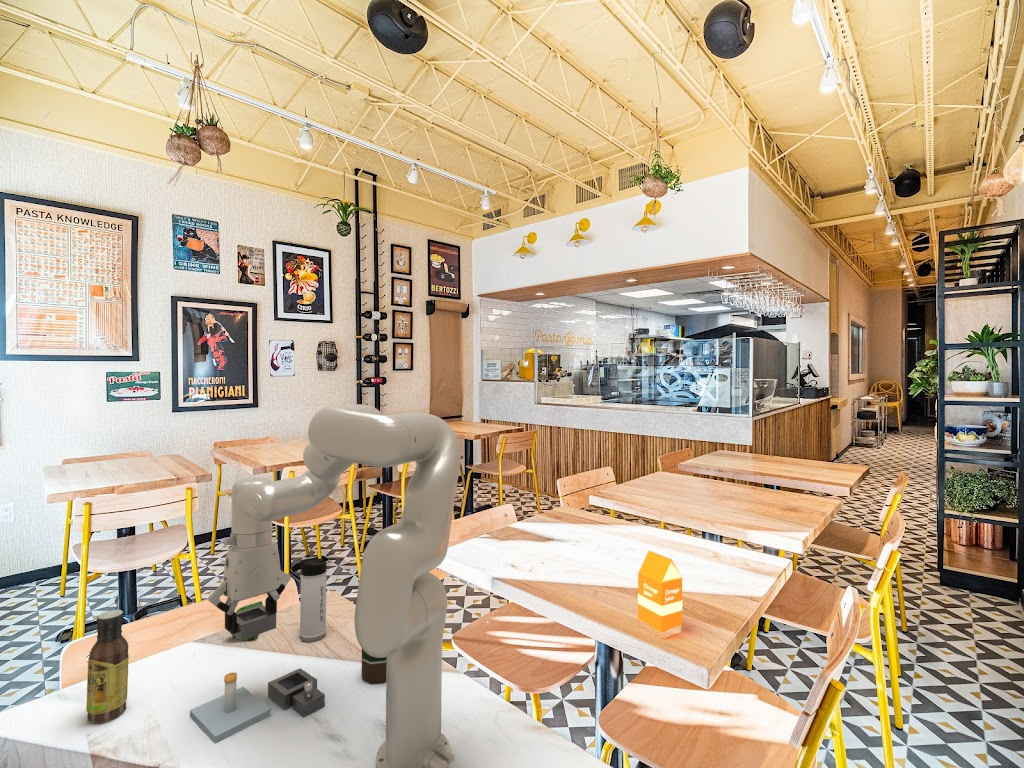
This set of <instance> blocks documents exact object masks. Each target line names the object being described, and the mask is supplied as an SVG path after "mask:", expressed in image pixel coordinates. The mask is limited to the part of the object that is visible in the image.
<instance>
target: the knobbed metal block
mask: <svg viewBox="0 0 1024 768" xmlns="http://www.w3.org/2000/svg"><path fill="white" fill-rule="evenodd" d="M325 696H326V694H325V693H324V692H322V691H321V690H319V689H318V687H317V688H315V687H314V686H313V682H312V681H307V682H306V683H305V684H304V691H302V692H300V693H298V694H296V695H294V696H292V707H291V709H292V710H294V711H295V712H296V713H297V714H299V715H300V716H301V717H302V718H305V717H307V716H310V715H311V714H313V713H315V712H316V711H319V710H320V709H322V708H324V707H325V706H326V703H325V702H326V699H325V698H326V697H325Z"/></svg>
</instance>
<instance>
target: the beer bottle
mask: <svg viewBox="0 0 1024 768" xmlns="http://www.w3.org/2000/svg"><path fill="white" fill-rule="evenodd" d="M386 665H387V657H384V658H376V657H373V656H370V655H368V654H367V653H366V652H365V651H364V650H363V649H362V648H361V679H362V681H364V682H366V683H368V684H370V685H374V684H383V683H386Z"/></svg>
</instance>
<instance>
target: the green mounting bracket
mask: <svg viewBox="0 0 1024 768" xmlns="http://www.w3.org/2000/svg"><path fill="white" fill-rule="evenodd" d="M261 604H262V605H263V601H262V600H260V601H258V602H254V603H250V604H247V605H244V606H242V607H240V608H238V609H237V610H236V611H235V613H236V612H239V611H242V610H245V609H249V608H252V607H255V606H258V605H261ZM263 606H264V605H263ZM231 636H232V639H237V638H236V637H235V636H234V635H232V634H231ZM259 636H260V634H258V635H256V636H253V637H250V638H247V639H246V641H251V640H254V639H256V638H258V637H259Z"/></svg>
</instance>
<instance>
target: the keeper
mask: <svg viewBox="0 0 1024 768" xmlns="http://www.w3.org/2000/svg"><path fill="white" fill-rule="evenodd" d="M237 679H238V673H237V672H229V673H227V674H225V675H224V676H223V682H224V694H223V695H221V696H219V697H215V698H214V699H211V700H209V701H207V702H205V703H203V704H201V705H198V706H196V707H194V708H191V709H190V710H189V717H190V718H191V719H192V720H193V721H194V722H195V723H196V725H197V726H199V728H200V729H201V730H202V731H203V732H204V733H205V734H206V735H207V736H208V737H209V739H211V740H212V742H213V743H214V744H217V743H219V742H220V741H222V740H224V739H227V738H229V737H230V736H232V735H235V734H236V733H239V732H240V731H242V730H244V729H246V728H249V727H250V726H252V725H254V724H256V723H257V722H260V721H262V720H264V719H266V718H268V717H270V716H271V708H270V707H269V706H267V705H266V704H265V703H264V702H262V700H260V699H259V698H257V697H256V695H255V694H253V693H252V692H251V691H249V690H248V689H247V688H245V686H241V687H239V688H237Z"/></svg>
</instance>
